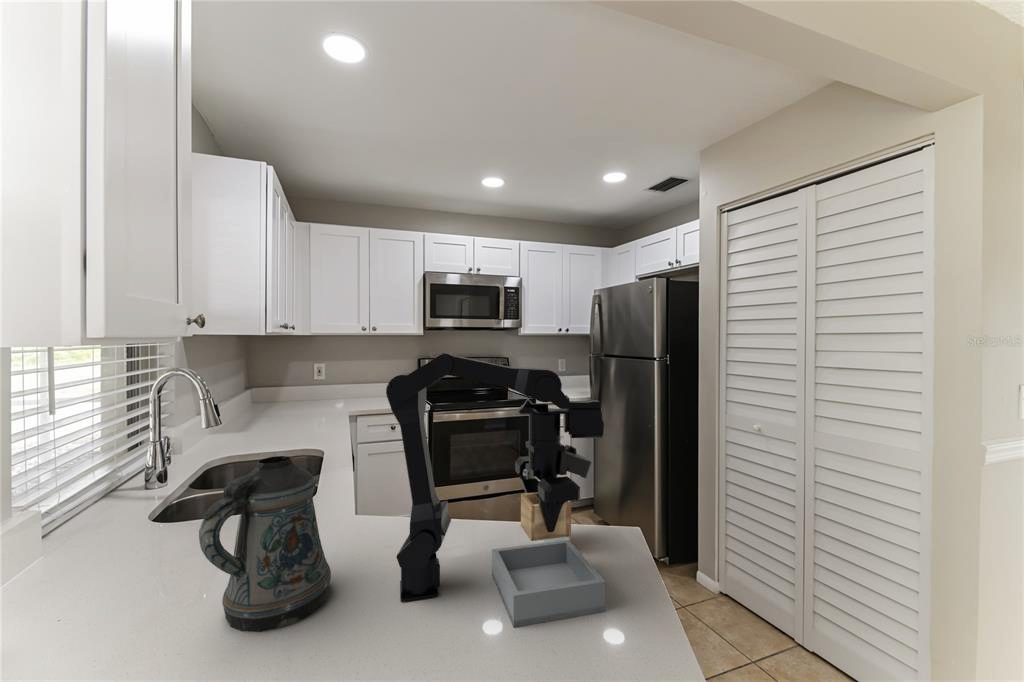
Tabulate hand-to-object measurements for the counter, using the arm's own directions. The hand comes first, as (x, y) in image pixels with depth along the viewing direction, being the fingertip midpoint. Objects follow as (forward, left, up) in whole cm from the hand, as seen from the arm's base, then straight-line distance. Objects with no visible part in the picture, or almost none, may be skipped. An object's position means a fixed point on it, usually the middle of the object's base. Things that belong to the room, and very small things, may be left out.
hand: (544, 524), depth 78 cm
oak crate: (0, 0, -1) cm, 1 cm away
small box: (+9, +16, -12) cm, 23 cm away
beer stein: (-46, +7, -12) cm, 48 cm away
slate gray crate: (0, 0, -12) cm, 12 cm away
